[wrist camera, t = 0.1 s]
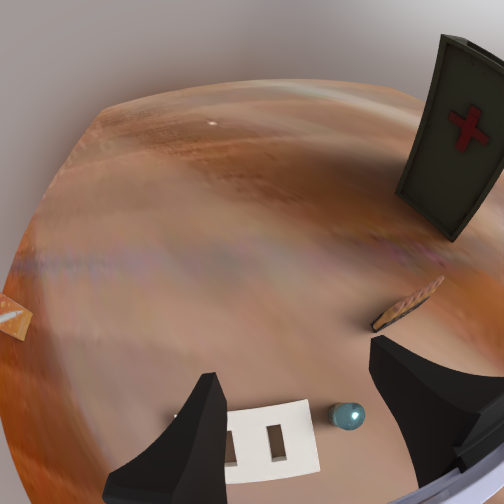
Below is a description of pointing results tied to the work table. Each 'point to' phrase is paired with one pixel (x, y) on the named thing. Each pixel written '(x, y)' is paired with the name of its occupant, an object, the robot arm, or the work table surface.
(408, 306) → the ammunition clip
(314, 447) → the bore block
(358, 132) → the work table surface
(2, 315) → the small box
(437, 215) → the dark green bin
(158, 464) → the robot arm
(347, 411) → the teal cylinder
